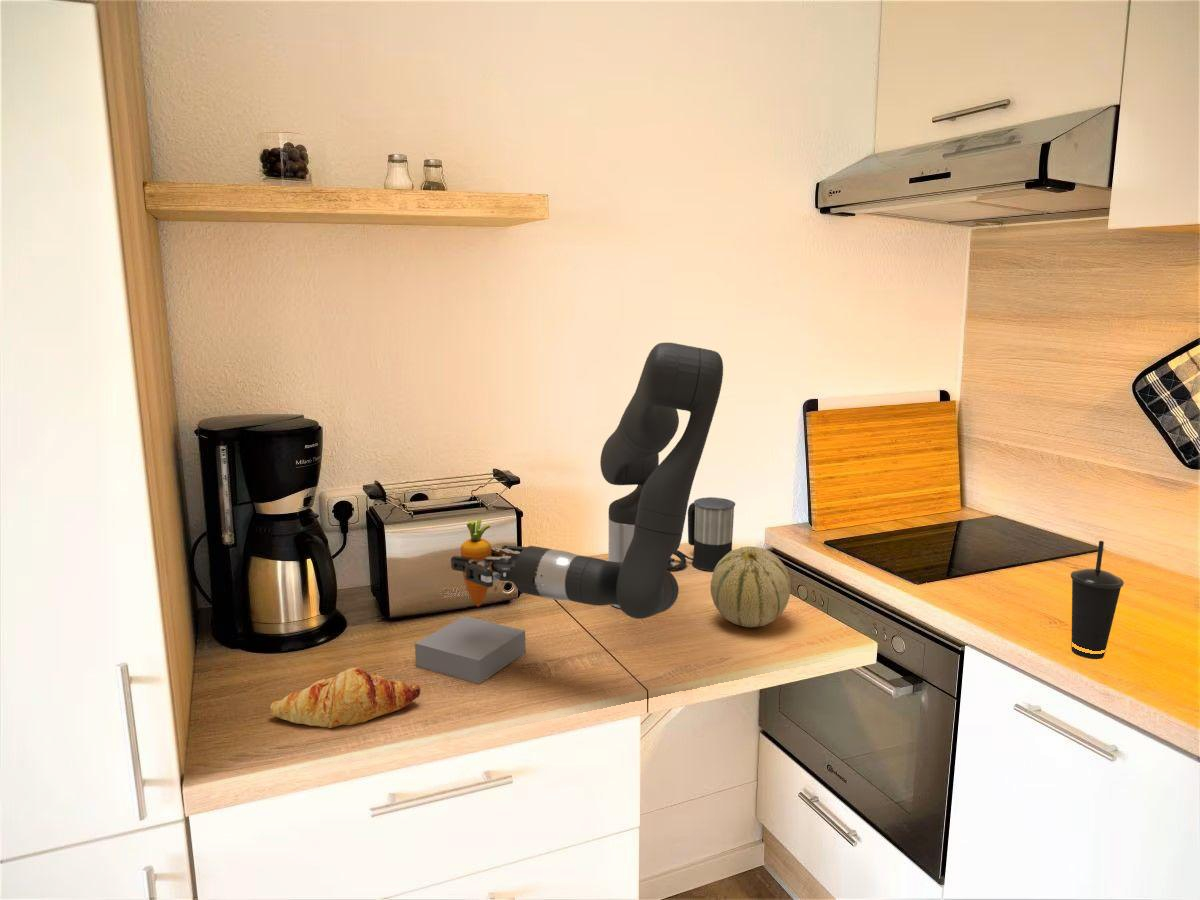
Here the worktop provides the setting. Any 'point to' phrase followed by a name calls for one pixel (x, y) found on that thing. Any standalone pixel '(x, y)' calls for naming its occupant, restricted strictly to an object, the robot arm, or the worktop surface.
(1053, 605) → the worktop surface
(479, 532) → the carrot
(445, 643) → the base block
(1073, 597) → the drinking cup
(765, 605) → the cantaloupe
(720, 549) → the milk frother
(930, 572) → the worktop surface
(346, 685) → the croissant
